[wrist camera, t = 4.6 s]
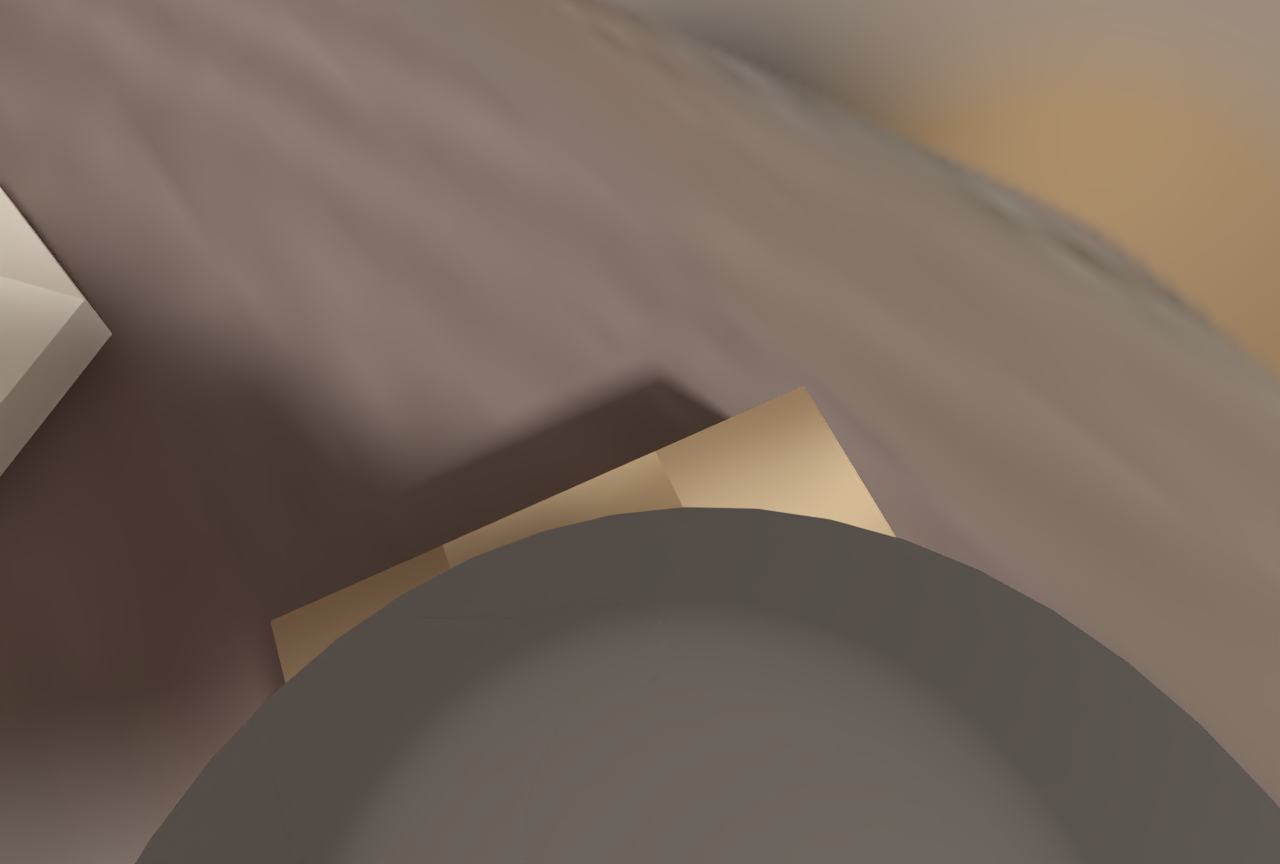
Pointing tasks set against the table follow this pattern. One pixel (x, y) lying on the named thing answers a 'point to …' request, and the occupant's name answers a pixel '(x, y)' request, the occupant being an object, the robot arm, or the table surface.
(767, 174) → the table surface
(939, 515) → the table surface
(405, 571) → the block
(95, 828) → the table surface
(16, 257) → the white tetrapod block
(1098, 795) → the steel pin
